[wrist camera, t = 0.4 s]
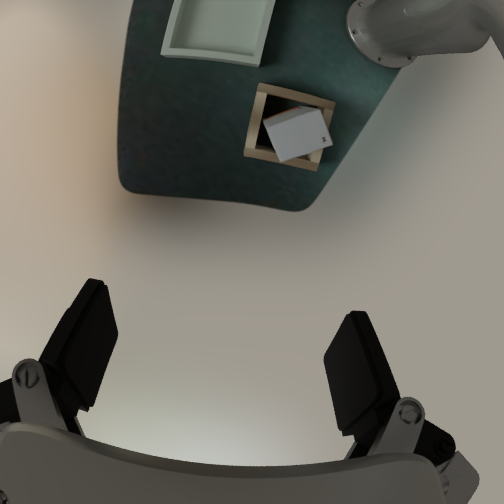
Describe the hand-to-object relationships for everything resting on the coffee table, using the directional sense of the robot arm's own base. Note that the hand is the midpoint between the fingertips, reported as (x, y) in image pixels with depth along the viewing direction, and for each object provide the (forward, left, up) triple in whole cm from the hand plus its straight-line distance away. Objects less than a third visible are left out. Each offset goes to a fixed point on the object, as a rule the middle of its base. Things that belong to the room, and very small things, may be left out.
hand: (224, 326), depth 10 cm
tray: (-19, -7, -32) cm, 38 cm away
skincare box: (-5, +5, -33) cm, 34 cm away
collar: (-5, +5, -32) cm, 33 cm away
